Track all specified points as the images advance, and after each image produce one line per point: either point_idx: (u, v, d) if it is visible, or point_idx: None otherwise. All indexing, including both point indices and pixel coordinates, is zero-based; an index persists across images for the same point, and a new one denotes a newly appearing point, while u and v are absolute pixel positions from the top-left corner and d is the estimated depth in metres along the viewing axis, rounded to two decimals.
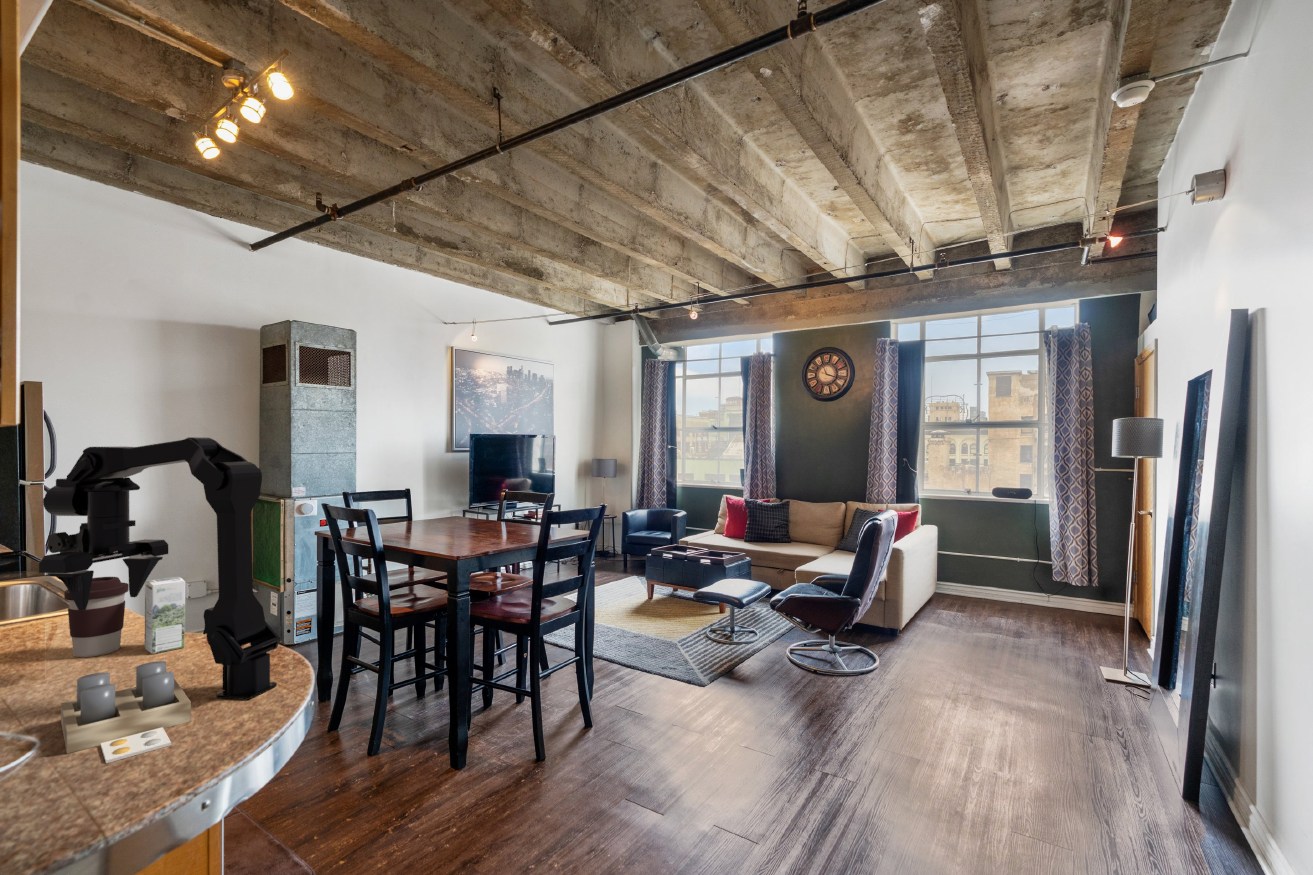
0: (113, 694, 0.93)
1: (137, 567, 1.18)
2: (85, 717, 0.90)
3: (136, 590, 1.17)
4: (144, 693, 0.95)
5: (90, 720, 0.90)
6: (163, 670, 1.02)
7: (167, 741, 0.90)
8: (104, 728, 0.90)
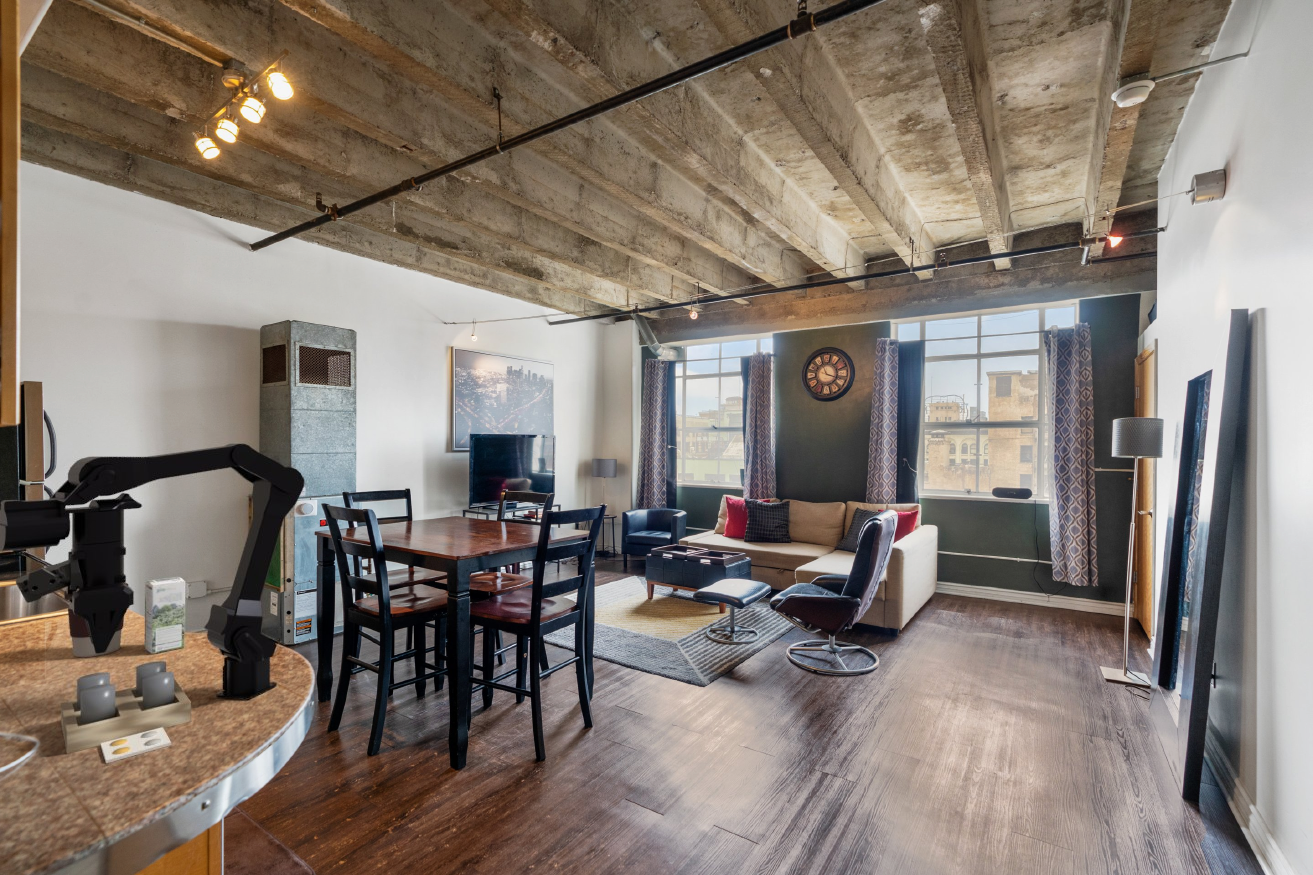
0: (113, 694, 0.93)
1: None
2: (85, 717, 0.90)
3: None
4: (144, 693, 0.95)
5: (90, 720, 0.90)
6: (163, 670, 1.02)
7: (167, 741, 0.90)
8: (104, 728, 0.90)
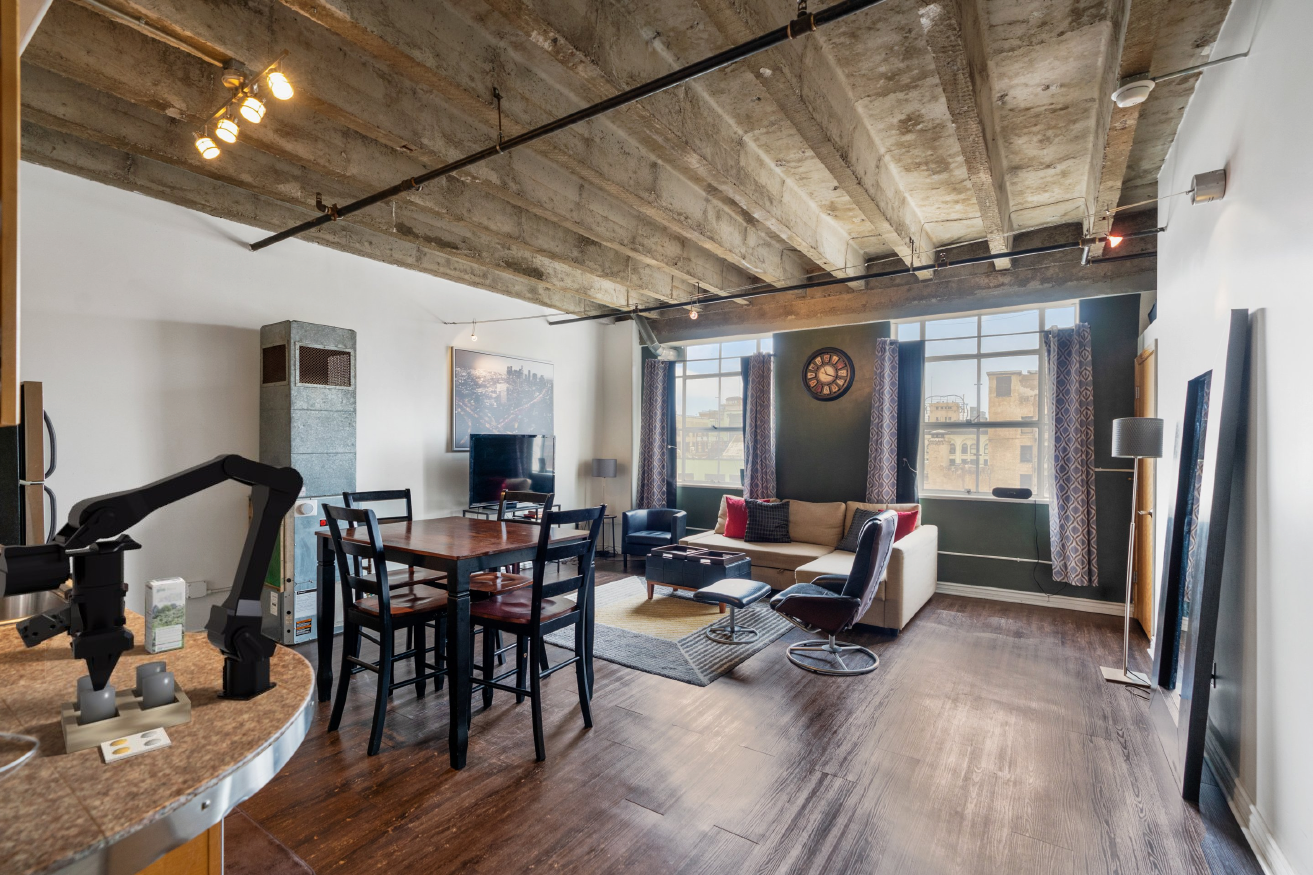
0: (113, 695, 0.93)
1: None
2: (85, 718, 0.90)
3: None
4: (144, 693, 0.95)
5: (90, 721, 0.90)
6: (163, 670, 1.02)
7: (167, 741, 0.90)
8: (104, 728, 0.90)
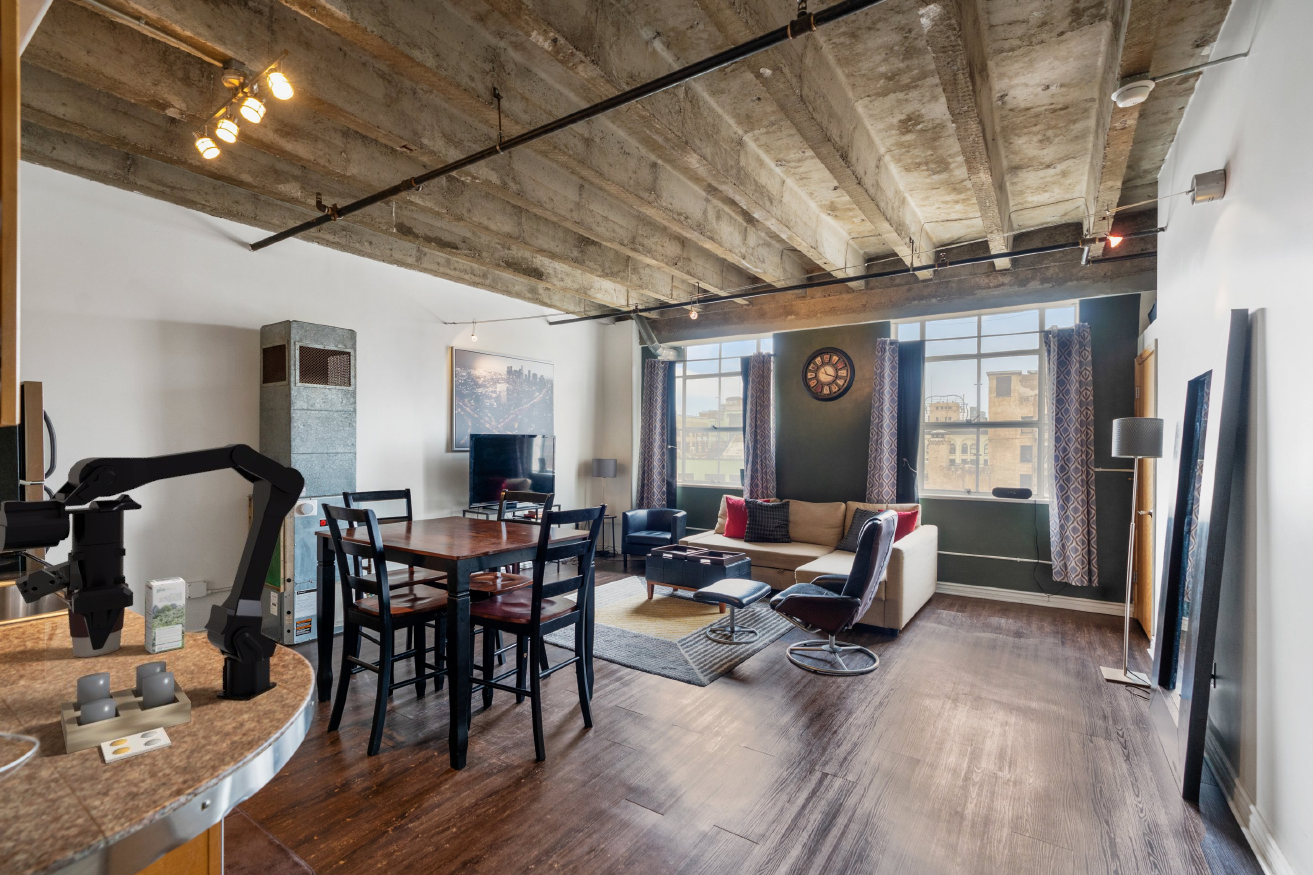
0: (113, 708, 0.93)
1: None
2: None
3: None
4: (144, 693, 0.95)
5: None
6: (163, 670, 1.02)
7: (167, 741, 0.90)
8: (104, 728, 0.90)
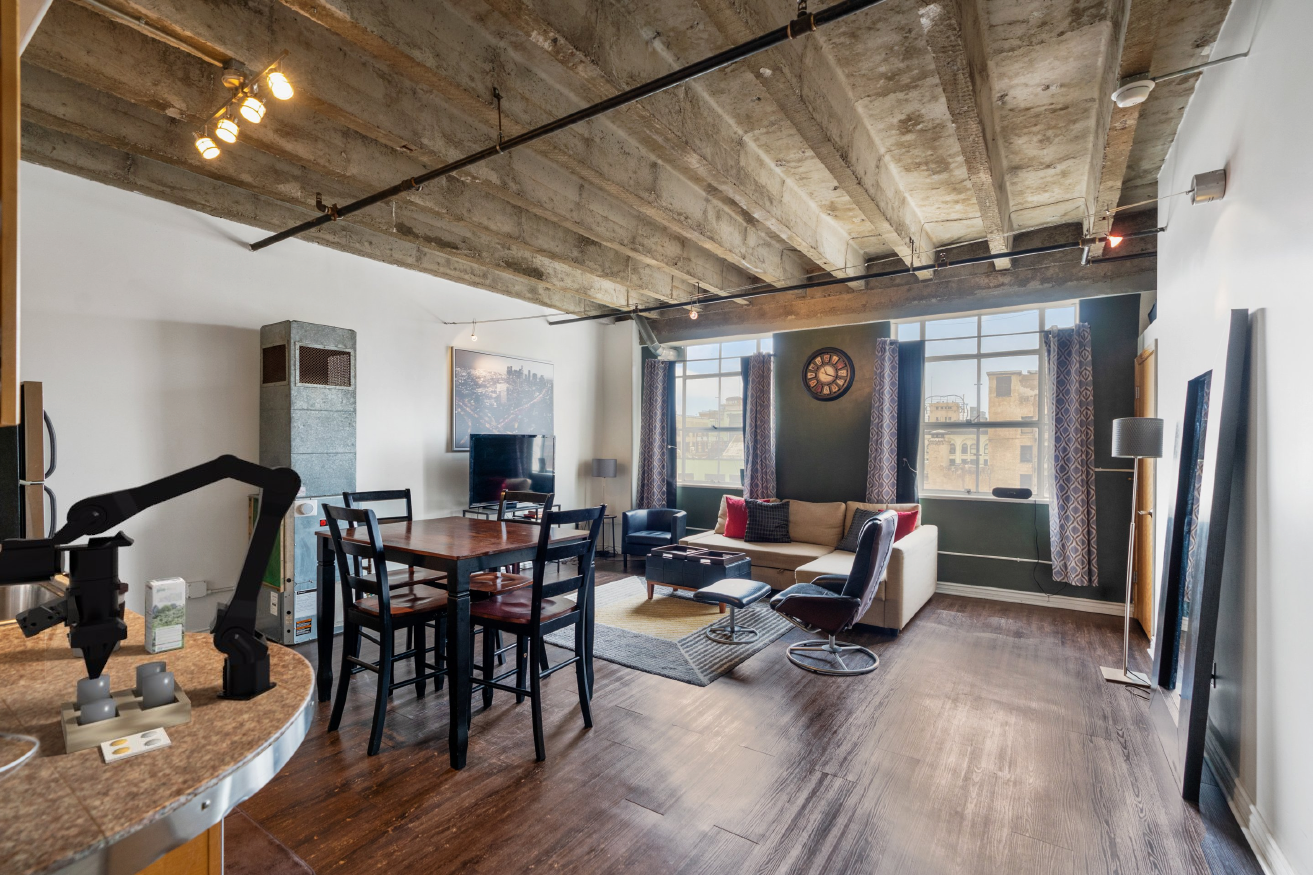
0: (113, 708, 0.93)
1: None
2: None
3: None
4: (144, 693, 0.95)
5: None
6: (163, 670, 1.02)
7: (167, 741, 0.90)
8: (104, 728, 0.90)
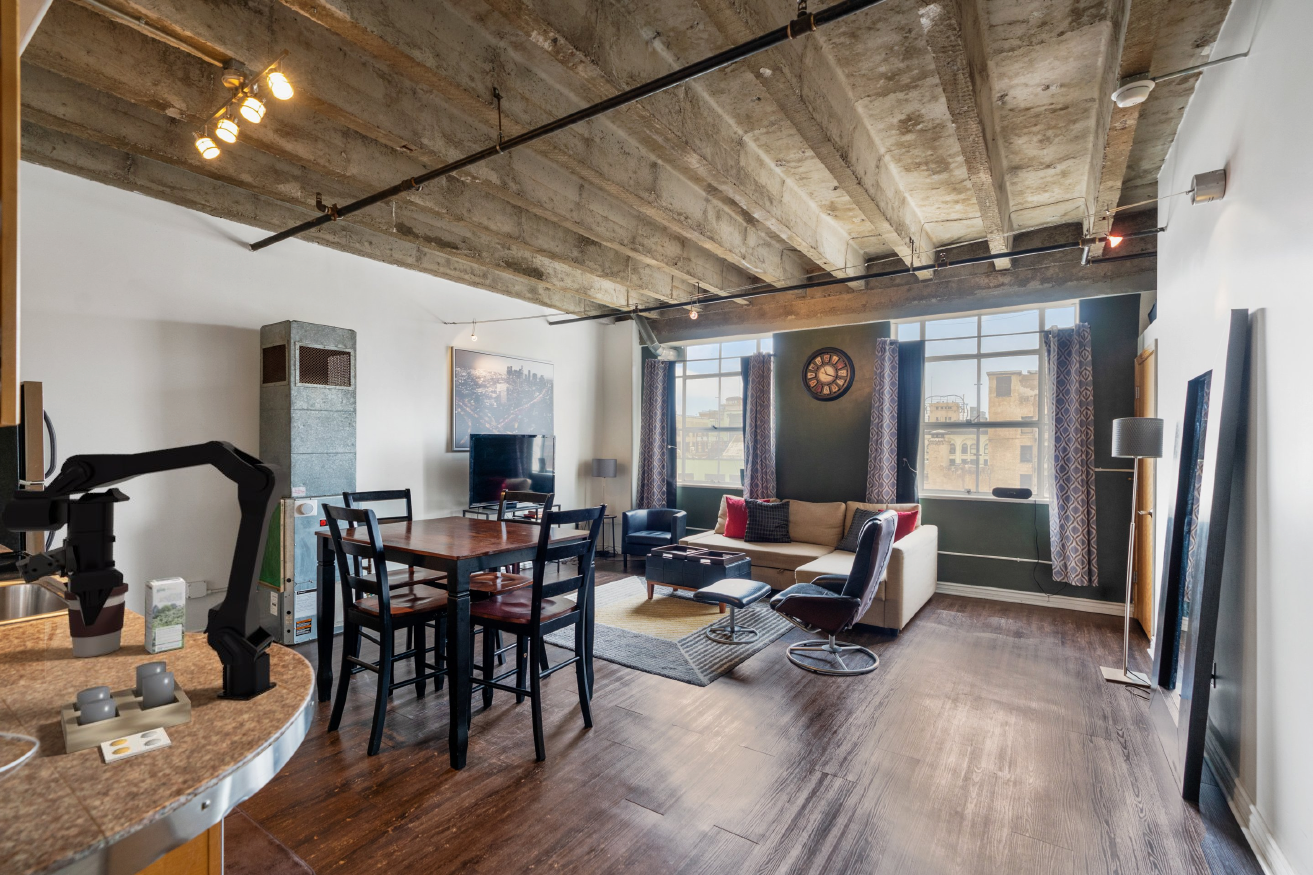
0: (113, 708, 0.93)
1: None
2: None
3: None
4: (144, 693, 0.95)
5: None
6: (163, 670, 1.02)
7: (167, 741, 0.90)
8: (104, 728, 0.90)
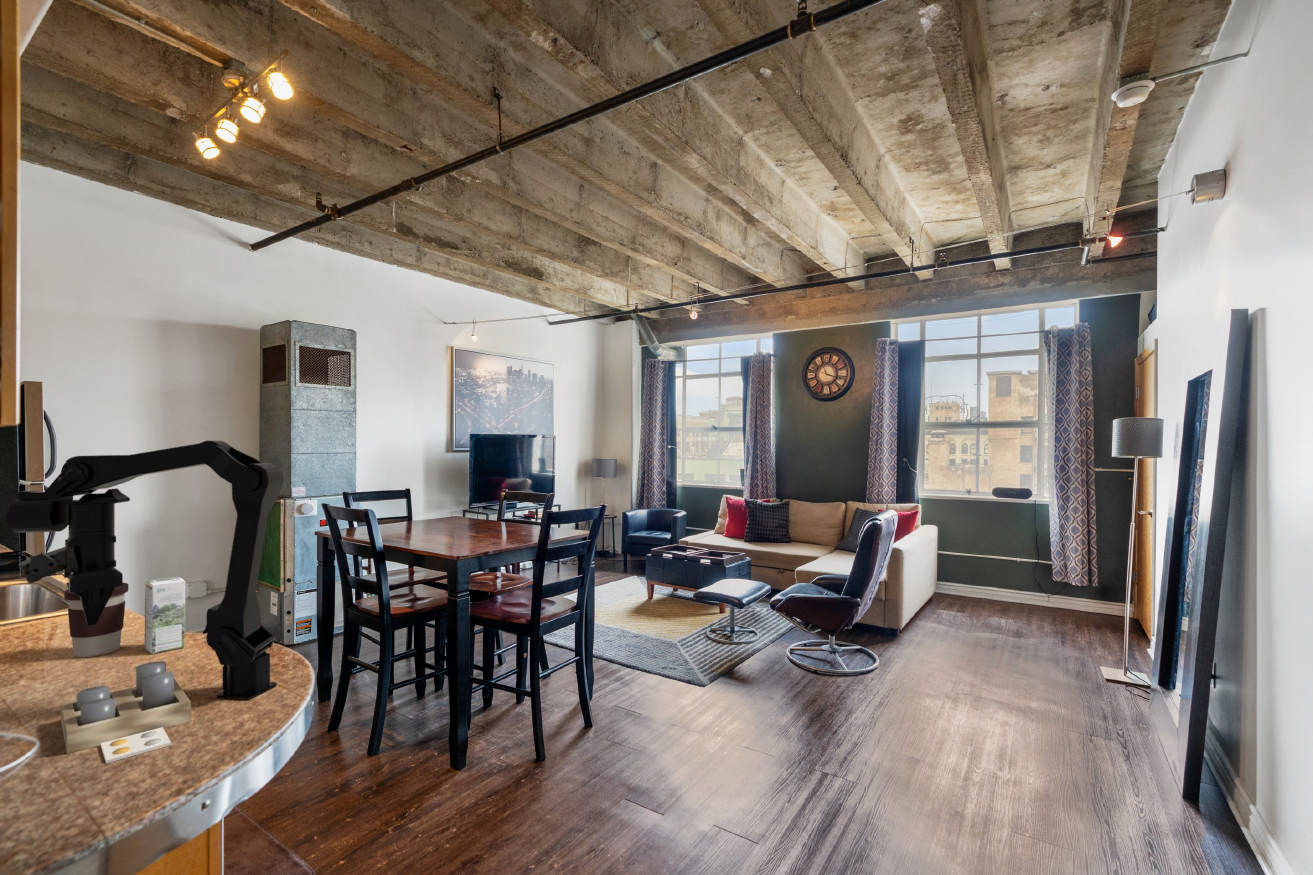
0: (113, 708, 0.93)
1: None
2: None
3: None
4: (144, 693, 0.95)
5: None
6: (163, 670, 1.02)
7: (167, 741, 0.90)
8: (104, 728, 0.90)
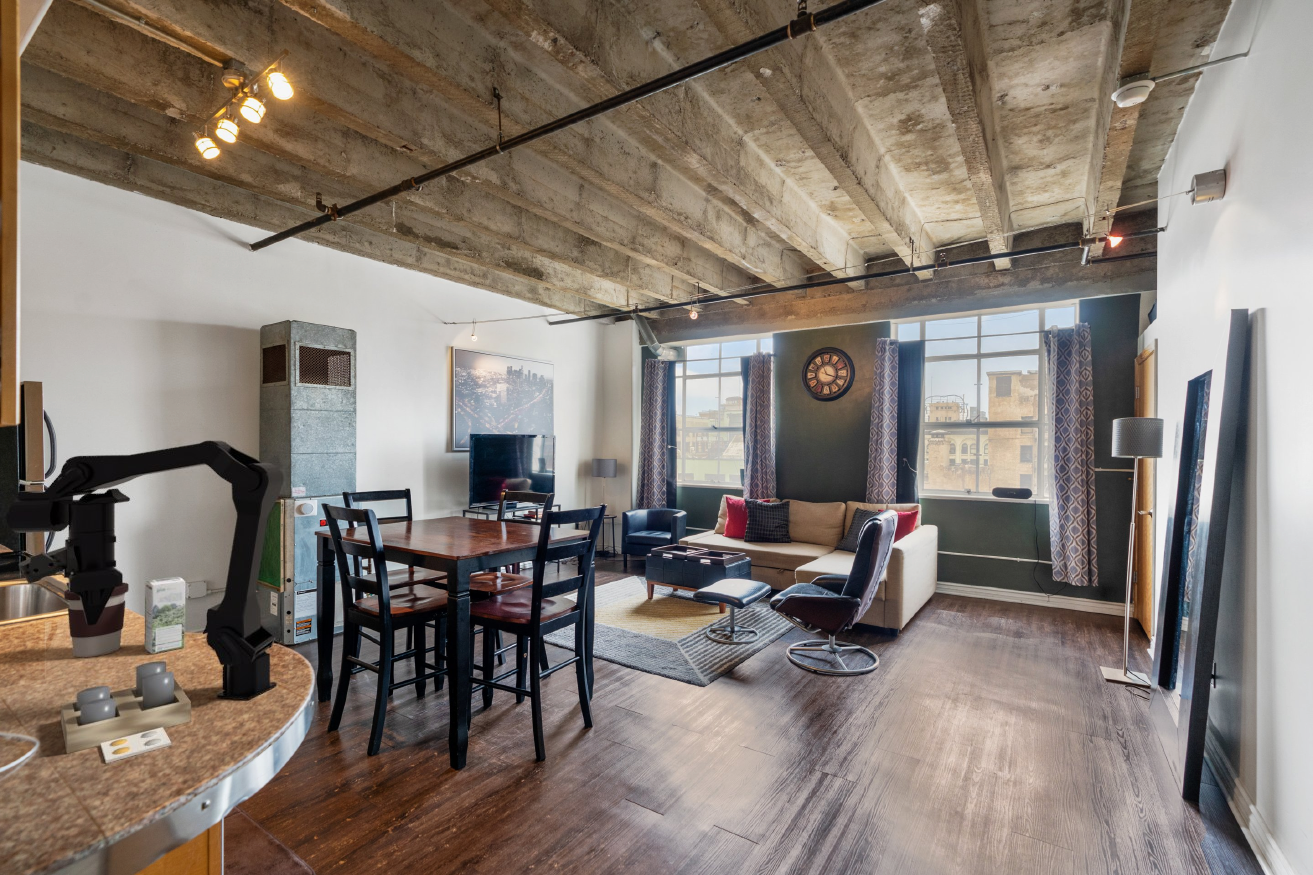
0: (113, 708, 0.93)
1: None
2: None
3: None
4: (144, 693, 0.95)
5: None
6: (163, 670, 1.02)
7: (167, 741, 0.90)
8: (104, 728, 0.90)
